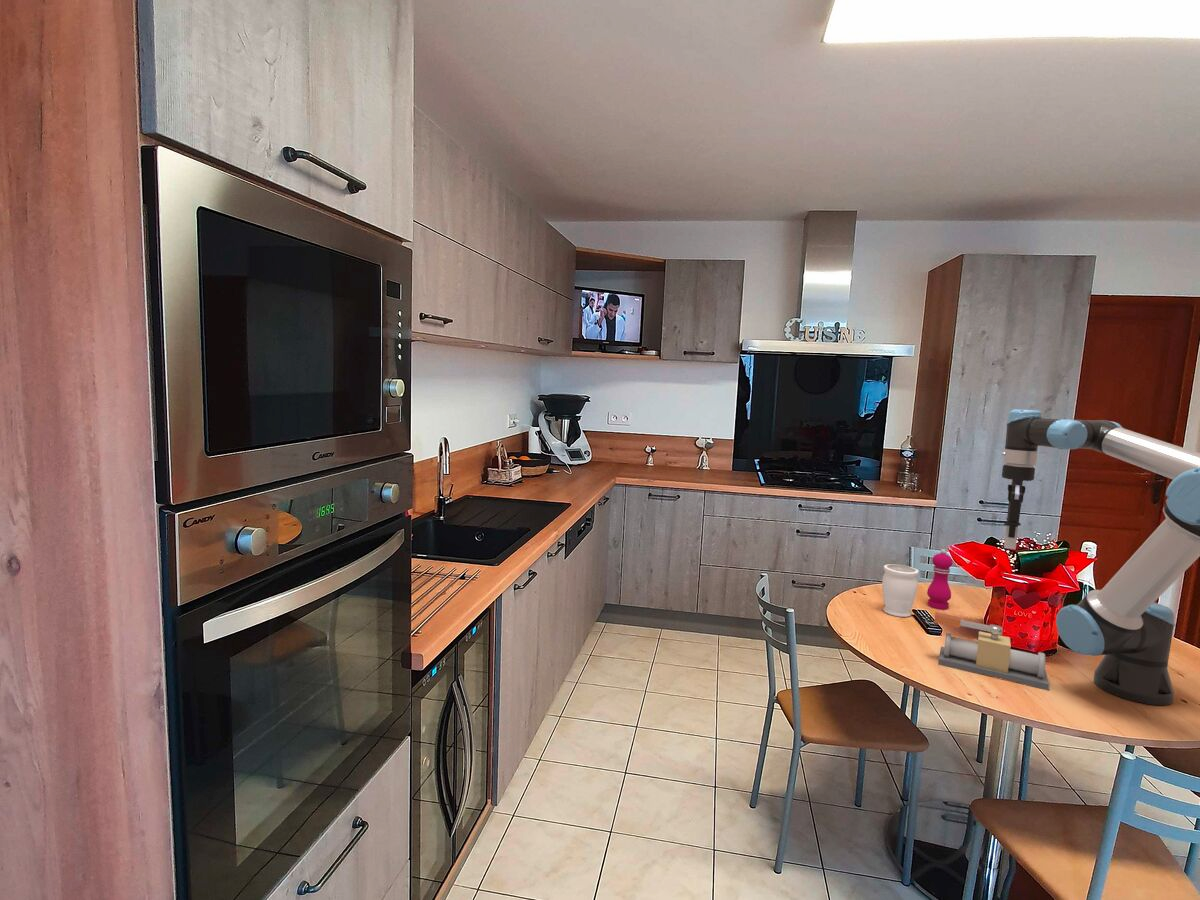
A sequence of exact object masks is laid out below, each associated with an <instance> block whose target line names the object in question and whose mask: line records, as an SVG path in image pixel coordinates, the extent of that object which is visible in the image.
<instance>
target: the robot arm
mask: <svg viewBox="0 0 1200 900" xmlns="http://www.w3.org/2000/svg"><path fill="white" fill-rule="evenodd" d="M1005 434H1006V436H1005V444H1004V451H1002V452H1001V455H1002V456H1004V457H1003V463H1004V464H1003V465H1002V469H1001V477H1002V478H1003V479H1006V480H1011V484H1007V492H1008V493H1007V501H1008V505H1007V517H1006V522H1004V524H1003V525H1004V526H1005V533H1004V535H1005V536H1004V543H1003V544H1004V545H1003V548H1004V549H1008V550H1015V551H1016V549H1017V542H1018V532H1019V531H1018V530H1019V526H1020V527H1021V522H1020V517H1021V516H1020V515H1021V508H1022V503H1023V502H1024V495H1025V493H1026V486H1025V485H1023V483H1024V481H1026V482H1031V481H1033V480H1035V474H1036V468H1035V467H1034V466H1036V465H1037V458H1038V448H1039V447H1047V448H1053V449H1059V450H1077V449H1083V450H1084V449H1085V450H1092V451H1093V450H1094V451H1096V452H1099V453H1102V454H1104V455H1106V456H1107V455H1108V456H1110V457H1113V458H1116V459H1118V460H1121V461H1123V462H1126V463H1128V464H1131V465H1134V466H1136V467H1140V468H1142V469H1144V470H1146V471H1150V472H1152V473H1154V474H1158V475H1161V476H1163V477H1165V478H1168V479H1170V480H1172V481H1171V482H1170V483H1169V485H1168V486H1167V488H1166V491H1165V496H1166V497H1167V499H1165V503H1166V504H1165V506H1164V507H1163V509H1162V511H1163V514H1164V516H1165V517H1164V518H1165V519H1164V520H1163V521H1162V522H1161V523H1160V525H1158V526H1157V527H1156V529H1155V530H1154V531H1153V532H1152V533H1151V534H1150V535H1149V536H1148V538H1147V539H1146V540H1145V541H1144V542H1143V543H1142V545H1141V546H1140V547H1138V549H1137V550H1136V551H1135V552H1134V553H1133V554H1132V555H1131V557H1130V558H1129V559H1128V560H1127V561H1126V562H1125V563H1124V564H1123V565H1122V567H1120V569H1119V570H1118V571H1117V572H1116V573H1115V574H1114V575H1113V576H1112V577H1111V578H1110V580H1109V581H1107V583H1106V584H1105V585H1104V587H1103V588H1101V589H1093V590H1090V591H1088V592H1087V593H1086V594H1085V596H1084V597H1083V598H1082V599H1081V600H1080V601H1079V603H1076V604H1068V605H1066V606H1063V607H1062V608H1061V609H1060V610H1058V612H1057V614H1056V619H1055V625H1056V627H1057V633H1058V635H1059V637H1060V640H1062V642H1063V643H1064V644H1065V646H1066V647H1068V648H1069V649H1070V650H1071V651H1073V652H1075V653H1077V654H1079V655H1083V656H1091V657H1092V656H1093V657H1097V656H1103V657H1102V659H1101V660H1100V662H1099V664H1098V665H1097V667H1096V668H1095V670H1094V675H1093V682H1094V684H1095V685H1096V686H1097V687H1099V688H1100V689H1102V690H1104V691H1106V692H1107V693H1110V694H1112V695H1114V696H1117V697H1120V698H1123V699H1126V700H1129V701H1133V702H1137V703H1141V704H1146V705H1153V706H1168V705H1171V704H1172V703H1173V702H1174V695H1175V691H1174V689H1173V688H1174V687H1173V684H1172V682H1171V681H1172V680H1171V677H1170V674H1169V670H1168V665H1169V659H1170V651H1171V646H1172V639H1173V632H1174V627H1175V625H1176V624H1175V613H1174V611H1173V610H1172V609H1171V608H1169V607H1167V605H1164V604H1161V603H1159V602H1156V601H1157V600H1158V599H1159V598H1160V596H1162V595H1163V594H1164V593H1165V592H1166V591H1167V590H1168V589H1169V588H1170V587H1171V586H1172V585H1173V584H1174V583H1175V582H1176V581H1177V579H1179V578H1180V577H1181V576H1182V575H1183V574H1184V573H1185V572H1186V571H1187V570H1188V569H1189V568H1190V567H1191V566H1192V565H1193V564H1194V563H1195V562H1196V560H1198V559H1199V557H1200V452H1198V451H1195V450H1191V449H1187V448H1185V447H1182V446H1179V445H1176V444H1173V443H1169V442H1167V441H1164V440H1160V439H1157V438H1154V437H1151V436H1148V435H1145V434H1142V433H1139V432H1135V431H1133V430H1130V429H1127V428H1124V427H1123V426H1122V425H1121V424H1120V423H1118V422H1115V421H1109V420H1105V419H1100V420H1097V419H1096V420H1093V419H1092V420H1090V419H1086V420H1085V419H1066V418H1043V417H1042V412H1041V411H1040V410H1036V409H1035V410H1034V409H1012V410H1010V411H1009V413H1008V419H1007V423H1006V433H1005Z"/></svg>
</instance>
